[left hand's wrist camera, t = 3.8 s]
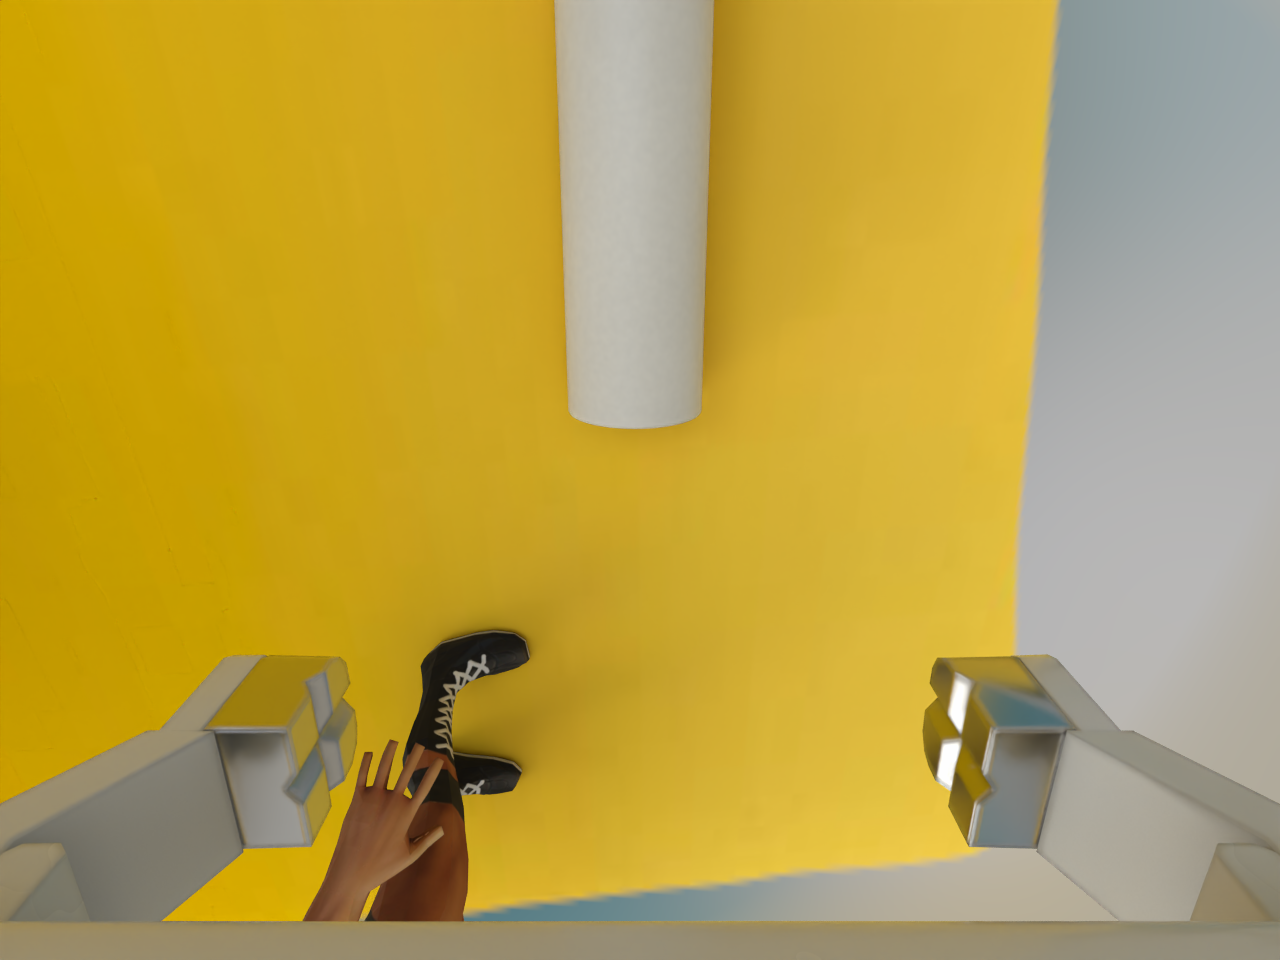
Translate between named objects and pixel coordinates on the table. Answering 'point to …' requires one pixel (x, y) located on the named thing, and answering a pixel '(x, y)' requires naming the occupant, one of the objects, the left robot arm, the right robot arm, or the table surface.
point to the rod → (634, 205)
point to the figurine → (420, 802)
